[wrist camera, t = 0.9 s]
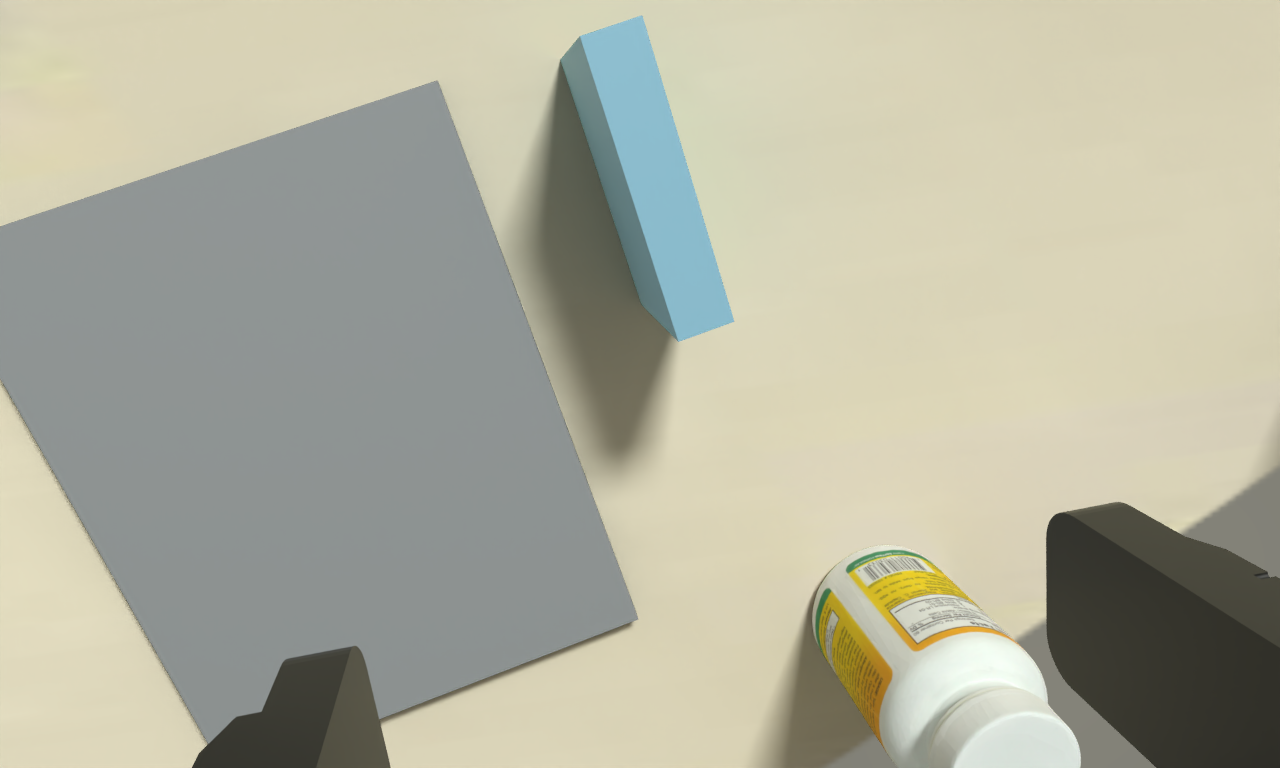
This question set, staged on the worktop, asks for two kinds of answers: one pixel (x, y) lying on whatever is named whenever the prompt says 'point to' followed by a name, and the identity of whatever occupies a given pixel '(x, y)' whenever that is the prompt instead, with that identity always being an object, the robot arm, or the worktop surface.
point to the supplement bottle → (934, 668)
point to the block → (646, 178)
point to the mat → (309, 414)
